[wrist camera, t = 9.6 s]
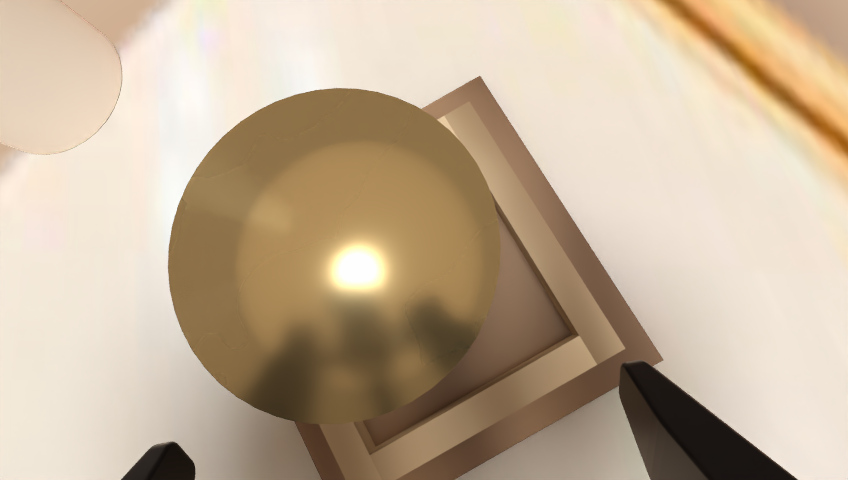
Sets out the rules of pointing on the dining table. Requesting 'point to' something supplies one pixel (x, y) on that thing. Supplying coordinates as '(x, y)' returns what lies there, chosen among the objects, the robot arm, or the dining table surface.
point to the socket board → (502, 329)
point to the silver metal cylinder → (334, 256)
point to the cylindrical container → (53, 77)
